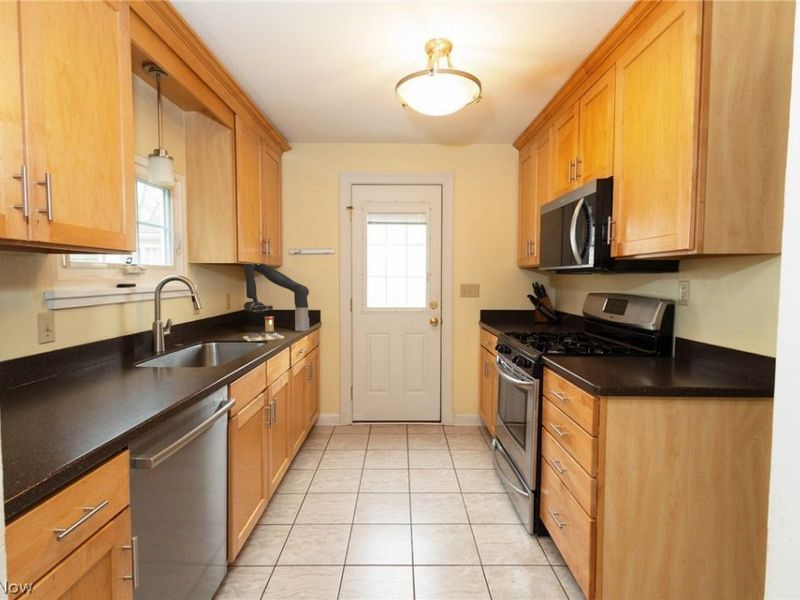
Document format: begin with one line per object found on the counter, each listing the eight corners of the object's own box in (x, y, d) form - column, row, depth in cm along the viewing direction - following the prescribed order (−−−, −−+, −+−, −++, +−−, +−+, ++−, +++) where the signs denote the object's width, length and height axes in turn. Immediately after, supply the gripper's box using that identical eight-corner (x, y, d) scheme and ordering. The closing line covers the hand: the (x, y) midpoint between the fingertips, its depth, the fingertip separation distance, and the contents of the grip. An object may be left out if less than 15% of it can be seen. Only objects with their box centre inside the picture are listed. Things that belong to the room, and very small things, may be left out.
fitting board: (277, 335, 266) (277, 331, 266) (283, 338, 255) (283, 333, 255) (242, 338, 253) (242, 333, 253) (248, 341, 243) (248, 335, 243)
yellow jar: (273, 334, 261) (272, 316, 260) (275, 336, 256) (275, 317, 255) (263, 335, 257) (263, 316, 256) (266, 337, 252) (265, 317, 251)
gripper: (247, 302, 277) (253, 303, 264) (267, 301, 285) (274, 302, 272) (247, 313, 277) (253, 314, 264) (268, 311, 285) (275, 313, 272)
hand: (264, 308), depth 268 cm, fingers open, 8 cm apart
